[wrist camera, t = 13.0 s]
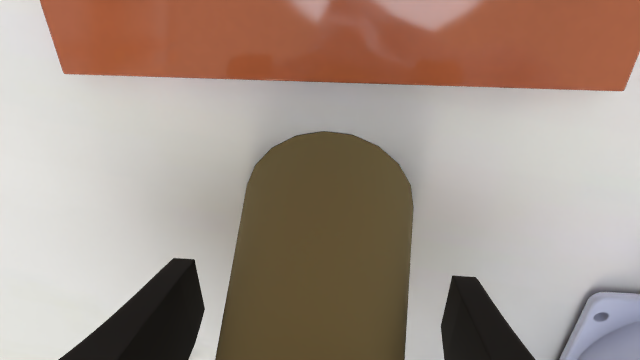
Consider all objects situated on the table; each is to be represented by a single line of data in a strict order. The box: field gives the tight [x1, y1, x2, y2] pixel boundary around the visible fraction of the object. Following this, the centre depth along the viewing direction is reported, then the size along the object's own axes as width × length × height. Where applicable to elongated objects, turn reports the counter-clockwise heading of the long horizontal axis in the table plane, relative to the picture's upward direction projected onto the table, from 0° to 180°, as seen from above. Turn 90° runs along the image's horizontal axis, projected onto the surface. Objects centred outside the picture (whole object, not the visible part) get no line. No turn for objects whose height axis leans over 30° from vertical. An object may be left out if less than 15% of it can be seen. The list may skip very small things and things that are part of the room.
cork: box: [215, 132, 413, 360], centre depth 11 cm, size 6×6×11 cm
